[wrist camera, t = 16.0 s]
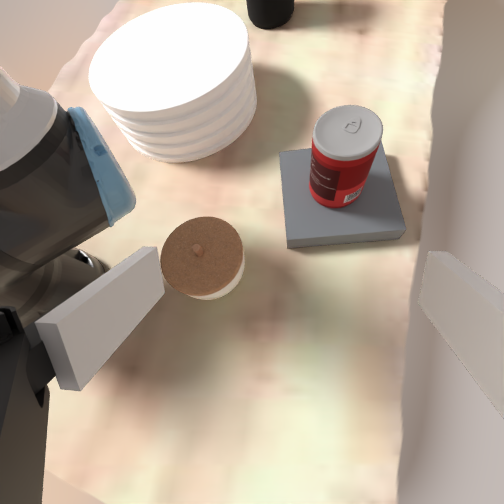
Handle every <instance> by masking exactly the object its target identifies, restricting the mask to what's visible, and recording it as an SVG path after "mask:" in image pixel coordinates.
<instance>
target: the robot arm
mask: <svg viewBox="0 0 504 504" xmlns="http://www.w3.org/2000/svg"><path fill="white" fill-rule="evenodd" d="M135 204H136V196H135V194H134V191H133V189H132V187H131V186H130V184H129V182H128V180H127V178H126V176H125V175H124V173H123V171H122V169H121V167H120V166H119V164H118V162H117V161H116V159H115V157H114V155H113V154H112V152H111V150H110V149H109V147H108V145H107V144H106V142H105V140H104V139H103V137H102V135H101V134H100V132H99V130H98V129H97V127H96V126H95V124H94V123H93V121H92V120H91V118H90V117H89V116H88V114H87V113H86V111H85V110H84V109H83V108H81V107H76V108H72V107H70V108H68V111H67V112H66V111H65V110H64V109H63V108H62V107H61V106H60V105H59V104H58V103H57V101H56V100H55V99H54V98H53V97H52V96H51V95H50V94H49V93H47V92H46V91H43V90H39V89H35V88H31V87H27V86H22V85H20V84H18V83H16V82H15V81H14V80H13V79H12V78H11V77H10V76H9V75H8V74H7V73H6V71H5V70H4V69H3V68H2V67H1V66H0V504H42V491H43V478H44V465H45V451H46V438H47V425H48V411H49V398H50V392H49V388H48V386H47V384H48V383H49V382H50V381H51V380H52V379H53V378H54V377H55V376H56V378H57V381H58V384H59V386H60V389H64V390H74V391H81V390H82V389H83V388H84V387H85V386H86V384H87V383H88V382H89V381H90V380H91V379H92V377H93V376H94V375H95V374H96V373H97V372H98V370H99V369H100V368H101V367H102V366H103V365H104V363H105V362H106V361H107V360H108V359H109V358H110V356H111V355H112V354H113V353H114V352H115V351H116V349H117V348H118V347H119V346H120V345H121V344H122V342H123V341H124V340H125V339H126V338H127V337H128V335H129V334H130V333H131V332H132V331H133V330H134V328H135V327H136V326H137V325H138V324H139V323H140V321H141V320H142V319H143V318H144V317H145V316H146V314H147V313H148V312H149V311H150V310H151V309H152V307H153V306H154V305H155V304H156V303H157V302H158V300H159V299H160V298H161V297H162V296H163V295H164V294H165V290H164V285H163V279H162V273H161V268H160V262H159V256H158V251H157V247H142V248H141V249H139V250H138V251H136V252H135V253H133V254H132V255H131V256H129V257H128V258H126V259H125V260H123V261H122V262H120V263H119V264H118V265H116V266H115V267H113V268H112V269H110V270H109V271H108V272H106V273H105V271H104V268H103V266H102V265H101V263H100V262H99V261H98V260H97V259H96V258H95V257H93V256H92V255H90V254H88V253H86V252H85V251H83V250H80V249H77V248H74V247H76V246H78V245H79V244H81V243H83V242H84V241H86V240H88V239H89V238H91V237H93V236H94V235H96V234H98V233H99V232H101V231H103V230H104V229H106V228H108V227H112V226H113V225H114V223H115V222H116V221H118V220H119V219H121V218H122V217H124V216H125V215H127V214H128V213H130V212H131V211H132V210H133V209H134V207H135ZM418 305H419V306H420V307H421V309H422V310H423V311H424V313H425V314H426V315H427V317H428V318H429V319H430V321H431V322H432V324H433V325H434V326H435V327H436V329H437V330H438V332H439V333H440V334H441V335H442V337H443V338H444V340H445V341H446V342H447V344H448V345H449V346H450V348H451V349H452V350H453V351H454V353H455V354H456V356H457V357H458V358H459V360H460V361H461V362H462V364H463V365H464V366H465V368H466V369H467V370H468V372H469V373H470V374H471V376H472V377H473V378H474V380H475V381H476V382H477V384H478V385H479V386H480V388H481V389H482V390H483V392H484V393H485V395H486V396H487V397H488V399H489V400H490V401H491V403H492V404H493V405H494V407H495V408H496V409H497V411H498V412H499V413H500V415H501V416H502V417H503V419H504V293H503V292H502V291H500V290H499V289H498V288H496V287H495V286H494V285H492V284H491V283H489V282H488V281H487V280H485V279H484V278H483V277H481V276H480V275H479V274H477V273H476V272H474V271H473V270H472V269H470V268H469V267H468V266H466V265H465V264H464V263H462V262H461V261H459V260H458V259H457V258H455V257H454V256H453V255H451V254H450V253H449V252H447V251H429V252H428V256H427V260H426V265H425V270H424V275H423V280H422V284H421V289H420V294H419V299H418Z"/></svg>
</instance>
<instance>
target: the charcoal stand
mask: <svg viewBox="0 0 504 504" xmlns="http://www.w3.org/2000/svg"><path fill="white" fill-rule="evenodd" d="M311 150H312V148H309V149H301V150H293V151H285V152H279V157H280V170H281V181H282V193H283V204H284V215H285V227H286V238H287V248H298V247H310V246H322V245H334V244H346V243H358V242H370V241H382V240H394V239H399V238H400V237H401V236H402V234H403V233H404V232H405V230H406V227H405V223H404V220H403V216H402V213H401V209H400V205H399V202H398V198H397V195H396V191H395V188H394V184H393V181H392V177H391V174H390V170H389V166H388V163H387V159H386V156H385V152H384V149H383V145H382V142H380V144H379V148H378V150H377V153H376V156H375V158H374V161H373V163H372V166H371V169H370V171H369V174H368V176H367V179H366V182H365V184H364V187H363V190H362V192H361V194H360V195H359V197H358V198H357V199H356V200H355V201H353V202H352V203H351V204H349V205H347V206H345V207H342V208H328V207H325V206H322V205H320V204H319V203H317V202H316V201H315V200H314V198H313V197H312V194H311V192H310V189H309V179H310V165H311Z"/></svg>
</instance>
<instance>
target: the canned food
mask: <svg viewBox="0 0 504 504" xmlns="http://www.w3.org/2000/svg"><path fill="white" fill-rule="evenodd" d="M382 134H383V125H382V122H381V120H380V118H379V117H378V116H377V115H376V114H375V113H374V112H372V111H371V110H369V109H367V108H365V107H361V106H356V105H344V106H339V107H336V108H333V109H331V110H329V111H327V112H325V113H324V114H323V115H322V116H321V117H320V118H319V119H318V120H317V122H316V124H315V127H314V131H313V138H312V150H311V165H310V179H309V189H310V192H311V194H312V197H313V198H314V200H315V201H316V202H317V203H319V204H320V205H322V206H325V207H328V208H342V207H345V206H347V205H349V204H351V203H352V202H353V201H355V200H356V199H357V198H358V197H359V195H360V194H361V192H362V190H363V187H364V184H365V182H366V179H367V176H368V174H369V171H370V169H371V166H372V163H373V161H374V158H375V156H376V153H377V150H378V148H379V144H380V142H381V138H382Z"/></svg>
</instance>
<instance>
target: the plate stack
mask: <svg viewBox="0 0 504 504" xmlns="http://www.w3.org/2000/svg"><path fill="white" fill-rule="evenodd" d="M89 82H90V86H91V89H92V91H93V92H94V94H95V95H96V97H97V98H98V99H99V101H100V102H101V103H102V104H103V106H104V108H105V109H106V110H107V112H108V113H109V114H110V116H111V117H112V119H113V120H114V121H115V123H116V124H117V126H118V127H119V128H120V130H121V131H122V133H123V134H124V135H125V137H126V138H127V139H128V141H129V142H130V144H131V145H132V146H133V147H134V148H135V149H136V150H137V151H138V152H139V153H141V154H142V155H144V156H146V157H148V158H150V159H153V160H156V161H161V162H169V163H180V162H189V161H194V160H198V159H201V158H204V157H207V156H210V155H212V154H214V153H216V152H218V151H220V150H222V149H224V148H225V147H227V146H228V145H230V144H231V143H232V142H234V141H235V140H236V139H237V138H238V137H239V136H240V135H241V134H242V133H243V132H244V131H245V130H246V128H247V127H248V125H249V124H250V122H251V120H252V118H253V116H254V114H255V110H256V106H257V95H256V89H255V80H254V75H253V66H252V60H251V52H250V47H249V37H248V31H247V28H246V26H245V24H244V22H243V21H242V19H241V18H240V17H239V16H238V15H237V14H235V13H234V12H232V11H231V10H229V9H227V8H224V7H222V6H219V5H215V4H209V3H181V4H175V5H170V6H166V7H162V8H159V9H156V10H153V11H150V12H148V13H145V14H143V15H141V16H139V17H137V18H135V19H133V20H131V21H130V22H128V23H126V24H125V25H123V26H122V27H120V28H119V29H118V30H117V31H115V32H114V33H113V34H112V35H111V36H110V37H108V38H107V40H106V41H105V42H104V43H103V44H102V45H101V46H100V48H99V49H98V51H97V52H96V54H95V56H94V58H93V60H92V62H91V65H90V69H89Z"/></svg>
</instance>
